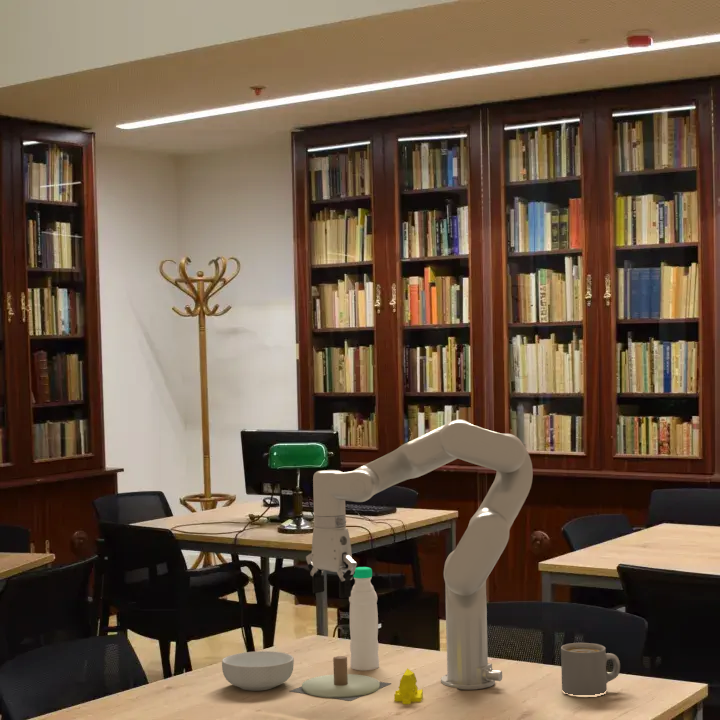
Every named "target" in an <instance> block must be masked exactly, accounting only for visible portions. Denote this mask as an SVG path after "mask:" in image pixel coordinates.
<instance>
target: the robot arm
mask: <svg viewBox="0 0 720 720" xmlns="http://www.w3.org/2000/svg"><path fill="white" fill-rule="evenodd" d="M457 459H459V460H462V461H464V462H468V463H470V464H472V465H473V464H474V465H477V466H481V467H482V468H487V469H489V470H490V469H491V470H493V471H496V472H495V473H496V474H495V478H494V480H493V483H492V484H491V486H490V487H489V489H488V491H487V493H486V495H485V497H484V498H483V501H482V502H481V504H480V506H479V507H478V509H477V510H476V512H475V513H474V514H473V516H472V517H470V520H469V523H468V526H467V528H466V530H465V531H464V533H463V535H462V536H461V538H460V540H459V542H458V543H457V545H456V547H455V549H454V550H453V551H451V552H450V553H449V554H448V556H447V558H446V560H445V562H444V566H443V567H444V568H443V579H444V583H445V585H444V586H445V627H446V628H445V630H446V635H445V636H446V671H447V674H445V675H442V676H441V678H440V684H442V685H445V686H447V687H449V688H456V689H457V690H464V691H465V690H471V691H472V690H482V689H487V688H490V687H492V686H494V685H495V684H496V682H502V680H503V671H502V670H495V669H493V664H492V663H489V659H488V656H489V655H488V620H487V617H488V616H487V615H488V614H487V613H488V611H487V610H488V609H487V579H488V577H489V575H490V574H491V572H492V571H493V569H494V567H495V566H496V564H497V563H498V562H499V559H500V557H501V555H502V554H503V553H504V550H505V549H506V547H507V545H508V542H509V540H510V530H511V528H512V526H513V524H514V521H515V520H516V518H517V517H518V515H519V513H520V511H521V509H522V507H523V505H524V504H525V502H526V499H527V497H528V496H529V493H530V490H531V489H532V484H533V476H534V475H533V474H534V473H533V463H532V460H531V456H530V454H529V452H528V450H527V448H526V446H525V445H524V443H523V441H522V440H521V439H520V438H519V437H518V436H517V435H514V434H512V433H500V432H497V431H493V430H489V429H486V428H483V427H481V426H478V425H474V424H472V423H470V421H468V420H465V419H461V418H460V419H454V420H451V421H449V422H447V423H445V424H443V425H441V426H439V427H436V428H435V429H432V430H430V431H428V432H427V433H424V434H422V435H420V436H418V437H416V438H414V439H412V440H410V441H408V442H406V443H403V444H402V445H400V446H399V447H398V448H396V449H394V450H393V451H391V452H388V453H387V454H385V455H383V456H381V457H379V458H377V459H375V460H373V461H370V462H368V463H366V464H364V465H361V466H359V467H358V468H356V469H354V470H351V471H344V472H343V471H341V470H339V469H337V470H336V469H327V470H325V469H324V470H317V471H316V472H314V474H313V479H312V481H313V482H312V483H313V484H312V487H313V488H312V489H313V491H312V492H313V493H312V494H313V526H314V527H313V531H312V540H311V553H309V554H308V555H306V556H305V560H306V563H307V567H308V570H309V571H310V572H309V573H310V576H311V577H312V579H311V580H312V581H311V583H312V593H313V594H318V593H324V592H325V575H324V574H323V573H324V571H325V572H326V571H327V572H330V573H331V572H332V573H336V574H337V576H338V577H339V580H338V596H339V598H340V599H345V598H349V597H350V596H351V591H352V586H351V585H352V583H351V581H352V580H353V579H354V577H353V575H354V574H355V569H356V568H357V567H358V563H357V561H355V560H354V559H353V557H352V556H353V555H352V544H351V538H350V532H349V529H348V528H347V520H346V517H347V516H346V501H347V502H354V503H363V502H366V501H368V500H370V499H371V498H372V497H373V496H374V495H376V494H378V493H380V492H383V491H385V490H386V489H388V488H390V487H392V486H395V485H397V484H399V483H402V482H405V481H407V480H410V479H416V478H419V477H421V476H424V475H427V474H428V473H431V472H432V471H434V470H436V469H439V468H440V467H443V466H445V465H446V464H449V463H451V462H453V461H456V460H457Z"/></svg>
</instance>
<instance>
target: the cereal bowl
mask: <svg viewBox="0 0 720 720" xmlns="http://www.w3.org/2000/svg"><path fill="white" fill-rule="evenodd" d="M294 662H295V660H294V656H293V655H292V654H289V653H286V652H281V651H270V650H269V651H267V650H265V651H263V650H262V651H260V650H259V651H248V652H238V653H235V654H231V655H228V656H226V657H224V658H222V659H221V668H222V673H223V676H224V678H225V680H226V681H227V682H228V683H229V684H230V685H233V686H235V687H238V688H240V689H241V690H245V691H252V692H253V691H256V692H257V691H266V690H271V689H273V688H276V687H278V686H280V685H282V684H283V683H286V682H287V681H289V679H290V678H291V676H292V674H293V671H294V664H295V663H294Z"/></svg>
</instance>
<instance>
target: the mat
mask: <svg viewBox="0 0 720 720" xmlns="http://www.w3.org/2000/svg"><path fill="white" fill-rule="evenodd" d="M379 682H380V687H379V689H378V690H380V689H383V688H385V687H387V686H390V685H392V683H390V682H384V681H379ZM291 692H292V693H296V694H297V693H298V694H302V695H304V694H305V695H308V696H309V695H310V694H307V693H305V692H304V691H303V690H302V685H301V686H299V687H296V688H293V689H291V690H289V693H291ZM364 696H365V695H362V696H355V697H344V698H333V699H334V700H342V701H347V702H351V701H354V700H356V699H359V698H362V697H364Z"/></svg>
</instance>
